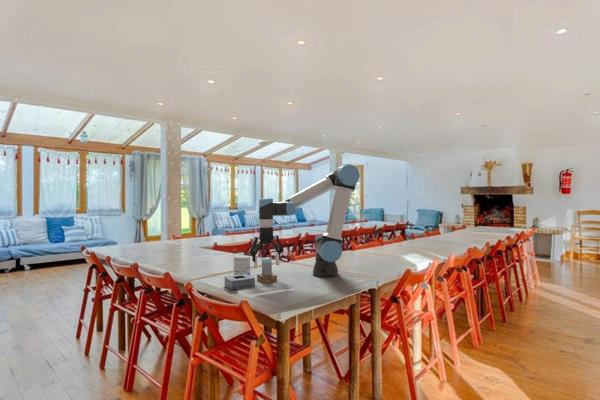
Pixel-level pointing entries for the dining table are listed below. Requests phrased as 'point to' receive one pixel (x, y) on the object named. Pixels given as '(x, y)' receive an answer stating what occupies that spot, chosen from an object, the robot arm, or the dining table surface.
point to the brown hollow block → (266, 278)
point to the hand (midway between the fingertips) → (266, 266)
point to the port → (239, 281)
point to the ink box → (241, 265)
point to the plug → (266, 266)
